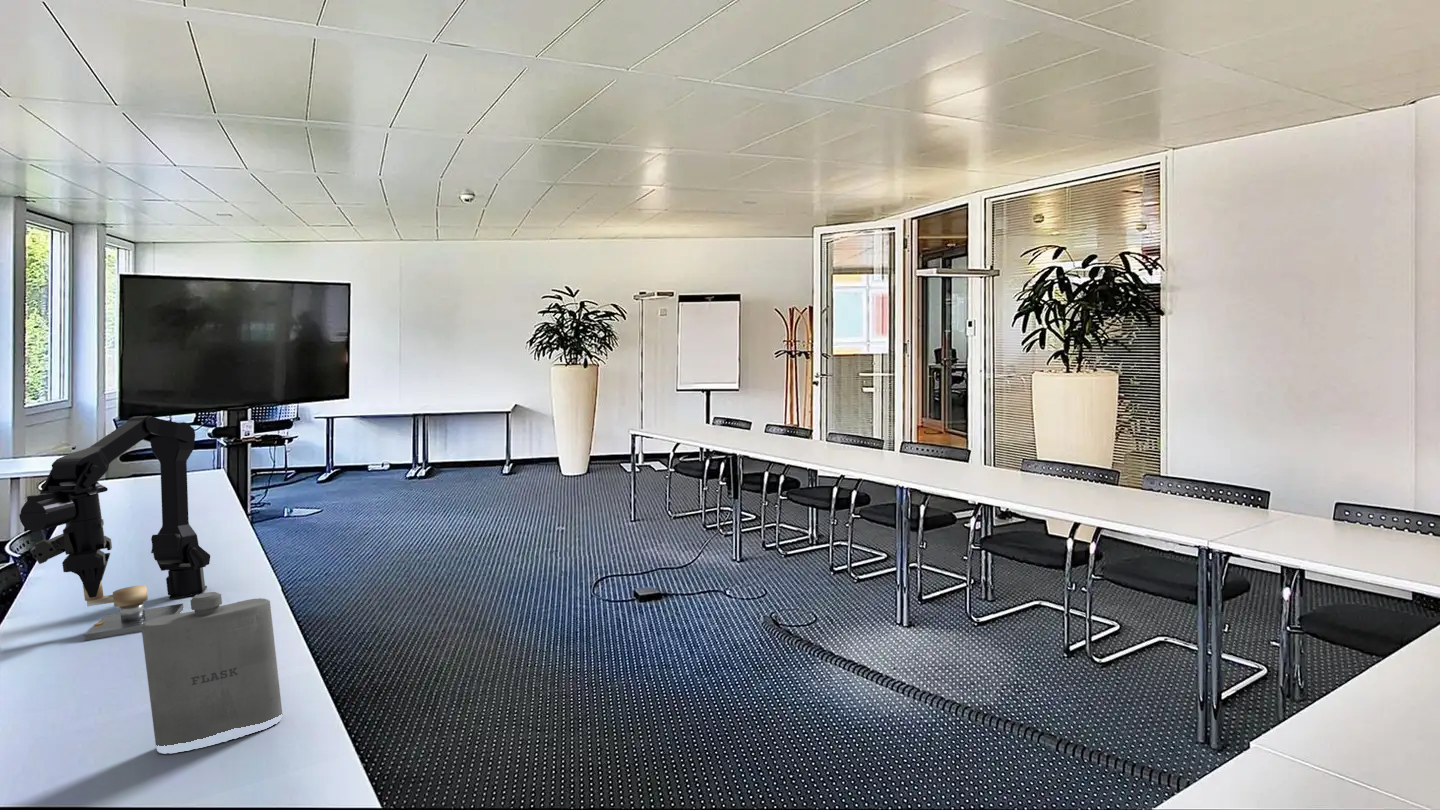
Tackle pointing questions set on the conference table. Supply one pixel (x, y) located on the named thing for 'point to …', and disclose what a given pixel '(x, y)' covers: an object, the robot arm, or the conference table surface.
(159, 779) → the conference table surface
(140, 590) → the crank handle
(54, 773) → the conference table surface
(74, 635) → the conference table surface
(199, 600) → the flask
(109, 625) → the base
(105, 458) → the robot arm
